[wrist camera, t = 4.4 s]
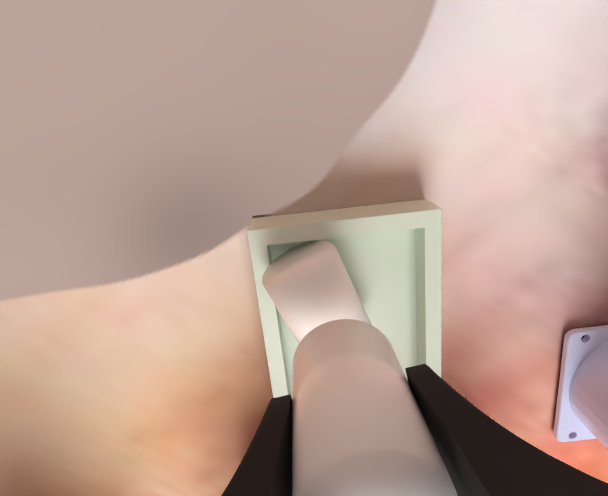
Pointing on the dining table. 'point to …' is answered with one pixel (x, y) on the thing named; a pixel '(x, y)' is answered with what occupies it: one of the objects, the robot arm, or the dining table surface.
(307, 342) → the white rounded piece
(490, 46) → the dining table surface
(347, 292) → the pale pink rounded cylinder
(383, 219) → the tray
